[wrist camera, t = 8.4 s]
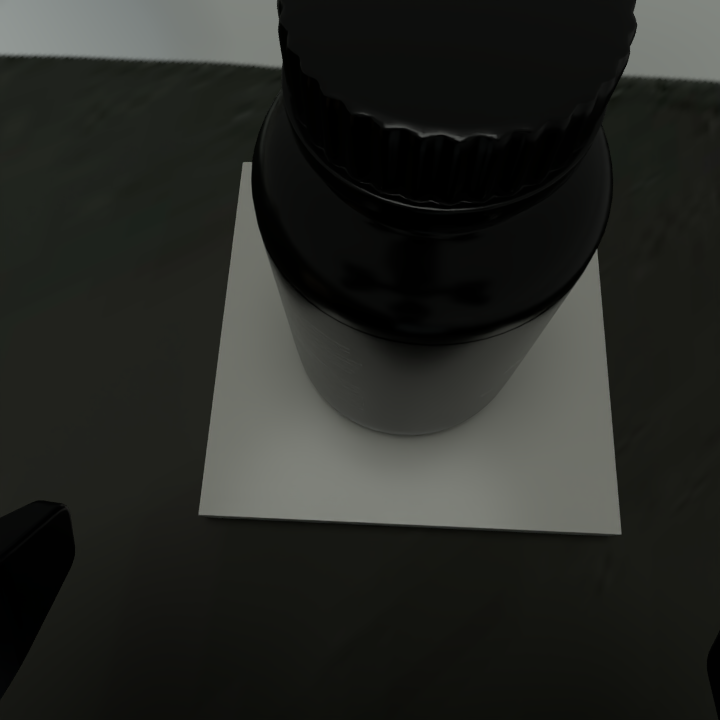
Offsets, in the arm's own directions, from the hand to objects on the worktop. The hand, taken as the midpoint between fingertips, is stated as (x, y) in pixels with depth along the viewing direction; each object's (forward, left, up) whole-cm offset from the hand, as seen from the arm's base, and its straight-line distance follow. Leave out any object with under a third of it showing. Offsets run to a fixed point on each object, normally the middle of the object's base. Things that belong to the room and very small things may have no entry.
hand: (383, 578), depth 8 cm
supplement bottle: (+7, -1, -9) cm, 12 cm away
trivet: (+7, -1, -10) cm, 13 cm away
